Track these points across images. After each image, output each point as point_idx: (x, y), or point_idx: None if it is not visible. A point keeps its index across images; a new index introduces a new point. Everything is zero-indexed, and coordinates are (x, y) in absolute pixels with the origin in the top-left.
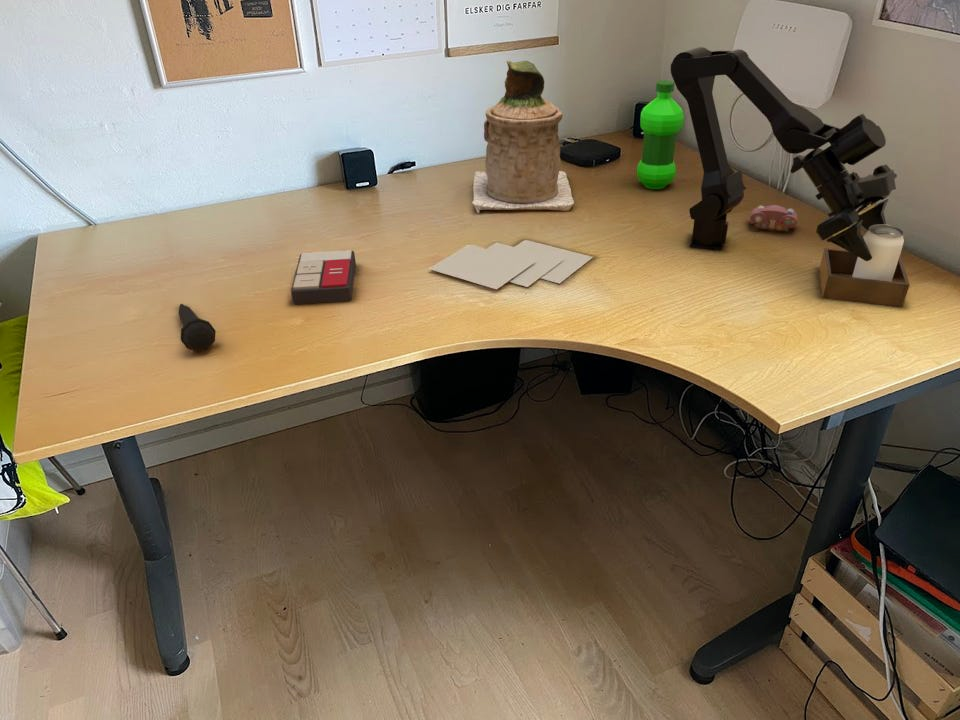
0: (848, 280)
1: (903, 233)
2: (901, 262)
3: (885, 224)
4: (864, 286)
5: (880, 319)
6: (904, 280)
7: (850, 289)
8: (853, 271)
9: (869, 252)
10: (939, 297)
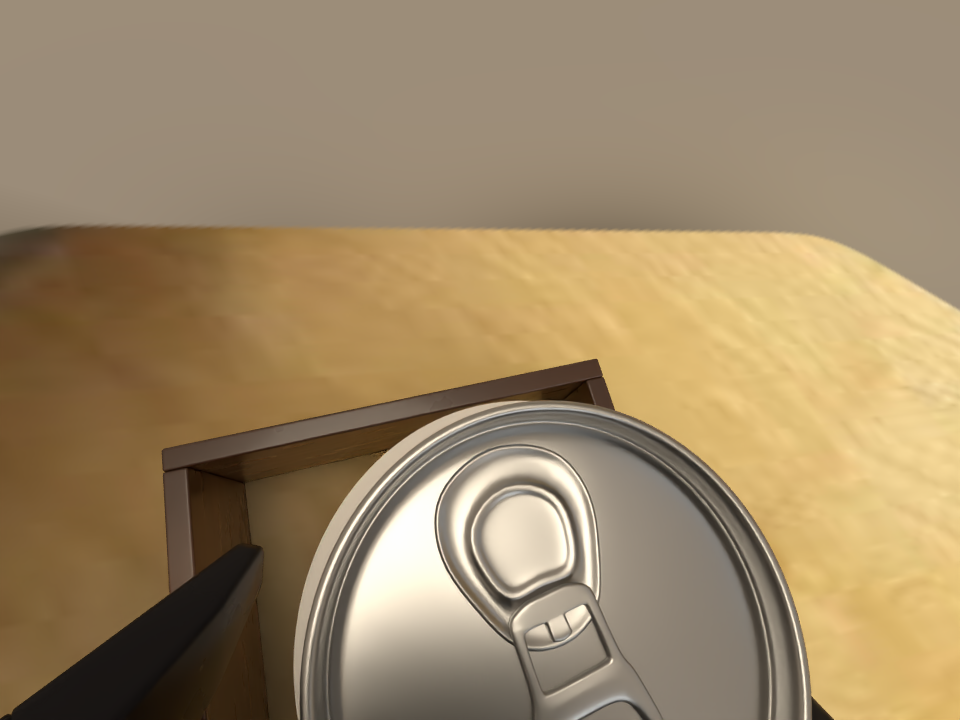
0: None
1: (558, 404)
2: (287, 429)
3: (59, 714)
4: None
5: (716, 465)
6: (549, 388)
7: None
8: (263, 707)
9: None
10: (378, 267)
